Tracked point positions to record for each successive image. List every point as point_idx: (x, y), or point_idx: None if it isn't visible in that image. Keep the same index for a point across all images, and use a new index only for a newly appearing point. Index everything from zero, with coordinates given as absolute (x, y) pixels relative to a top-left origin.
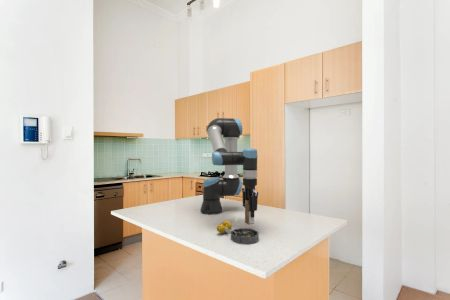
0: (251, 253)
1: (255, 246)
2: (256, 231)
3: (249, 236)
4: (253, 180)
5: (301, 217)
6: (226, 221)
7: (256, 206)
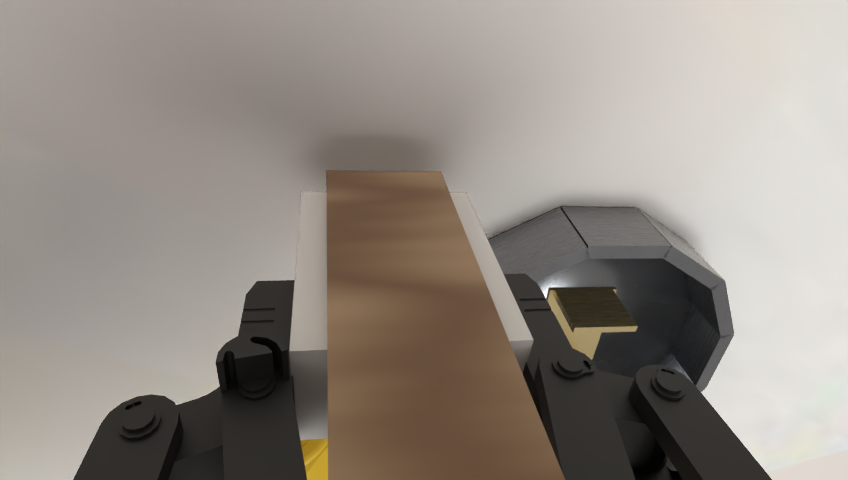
0: (793, 385)
1: (744, 319)
2: (647, 256)
3: (592, 297)
4: None
5: None
6: None
7: (744, 472)
